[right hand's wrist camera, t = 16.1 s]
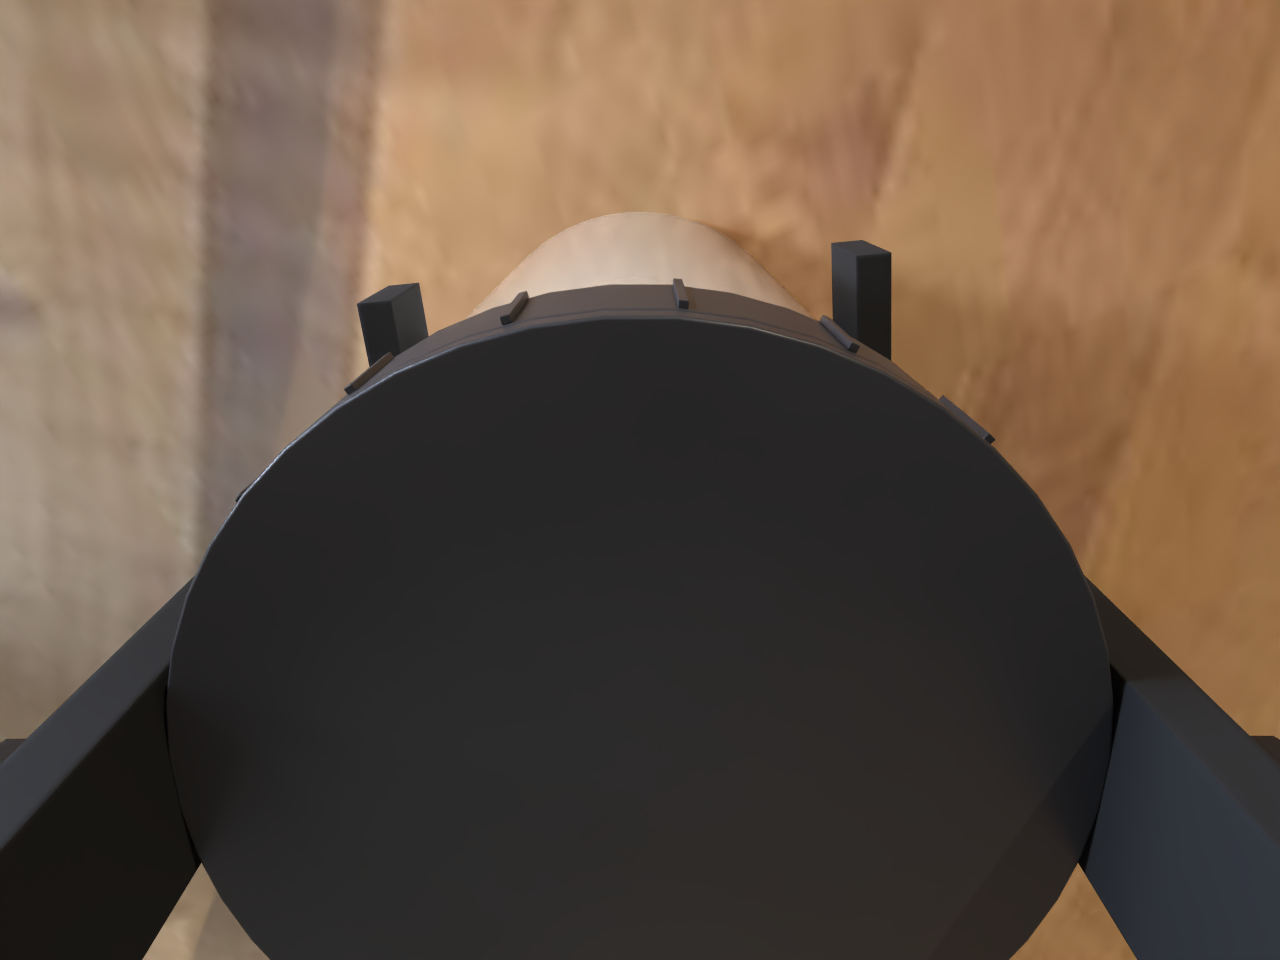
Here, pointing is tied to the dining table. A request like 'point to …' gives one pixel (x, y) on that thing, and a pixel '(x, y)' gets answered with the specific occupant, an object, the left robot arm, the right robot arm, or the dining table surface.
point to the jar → (640, 261)
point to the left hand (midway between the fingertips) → (622, 269)
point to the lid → (639, 656)
